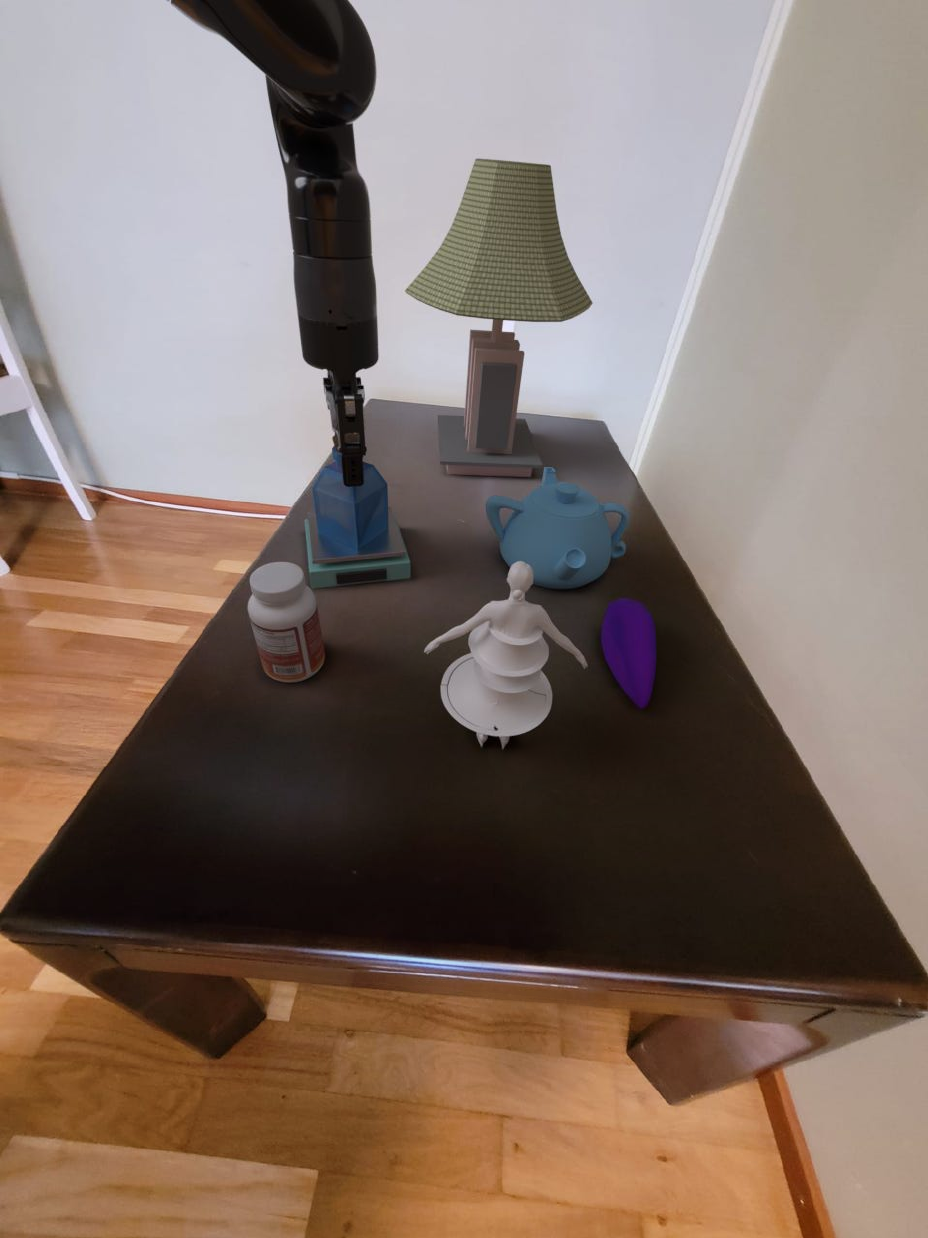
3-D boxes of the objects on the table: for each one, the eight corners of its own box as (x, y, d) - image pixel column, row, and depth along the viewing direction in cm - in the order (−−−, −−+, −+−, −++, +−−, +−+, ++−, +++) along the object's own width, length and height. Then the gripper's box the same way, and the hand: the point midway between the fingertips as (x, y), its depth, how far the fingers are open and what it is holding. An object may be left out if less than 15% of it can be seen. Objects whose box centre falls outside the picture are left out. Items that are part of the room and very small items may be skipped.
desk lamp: (407, 423, 105) (406, 151, 79) (549, 429, 107) (595, 167, 81) (403, 485, 86) (401, 152, 59) (577, 491, 88) (649, 174, 62)
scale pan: (312, 564, 63) (312, 560, 63) (307, 516, 71) (307, 512, 70) (405, 555, 66) (405, 551, 65) (391, 510, 73) (390, 506, 73)
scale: (311, 590, 64) (308, 569, 62) (306, 535, 73) (303, 514, 71) (411, 580, 67) (411, 559, 65) (394, 528, 76) (394, 508, 74)
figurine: (559, 701, 54) (607, 528, 41) (567, 786, 47) (629, 609, 33) (428, 689, 54) (434, 512, 41) (415, 772, 47) (418, 590, 33)
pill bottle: (305, 633, 59) (290, 548, 51) (337, 665, 55) (326, 578, 48) (251, 660, 55) (227, 572, 48) (282, 695, 52) (262, 607, 45)
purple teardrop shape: (626, 691, 50) (604, 581, 60) (612, 720, 54) (593, 612, 64) (677, 695, 50) (646, 585, 60) (660, 723, 54) (633, 614, 64)
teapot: (464, 566, 70) (471, 487, 63) (537, 519, 81) (550, 446, 73) (564, 621, 63) (585, 539, 56) (630, 561, 74) (655, 486, 66)
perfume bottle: (388, 528, 69) (386, 436, 61) (357, 550, 65) (350, 455, 57) (350, 513, 71) (343, 422, 63) (318, 533, 67) (306, 439, 59)
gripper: (294, 292, 56) (312, 443, 66) (299, 328, 46) (320, 500, 56) (367, 294, 58) (373, 441, 68) (388, 328, 47) (392, 495, 58)
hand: (349, 467), depth 62 cm, fingers open, 8 cm apart
